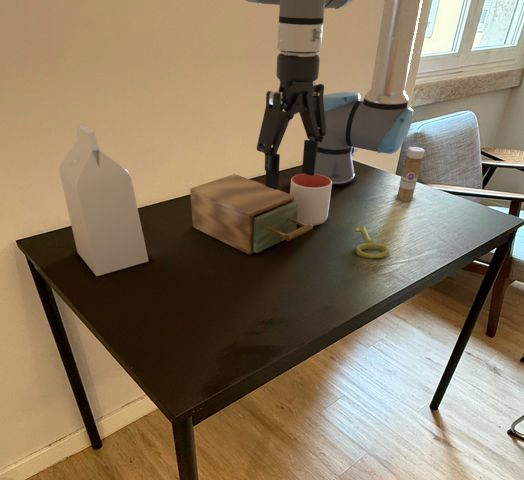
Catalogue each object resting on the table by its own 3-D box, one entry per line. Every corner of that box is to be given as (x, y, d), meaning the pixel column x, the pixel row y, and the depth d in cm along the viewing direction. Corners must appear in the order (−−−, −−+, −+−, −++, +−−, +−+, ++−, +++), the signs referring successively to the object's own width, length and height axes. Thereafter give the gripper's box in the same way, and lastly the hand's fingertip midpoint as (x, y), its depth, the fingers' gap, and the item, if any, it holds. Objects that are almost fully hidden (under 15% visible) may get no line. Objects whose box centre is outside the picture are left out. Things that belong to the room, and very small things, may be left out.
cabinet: (291, 234, 109) (294, 195, 103) (249, 255, 101) (250, 214, 95) (235, 210, 119) (234, 173, 113) (192, 227, 111) (189, 188, 105)
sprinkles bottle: (399, 201, 127) (410, 151, 118) (394, 195, 130) (405, 146, 122) (415, 201, 127) (427, 151, 118) (409, 195, 131) (421, 146, 122)
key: (362, 233, 111) (363, 225, 109) (391, 256, 102) (393, 247, 101) (336, 237, 108) (338, 229, 107) (364, 261, 100) (366, 253, 98)
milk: (148, 261, 97) (128, 132, 81) (96, 276, 92) (63, 141, 75) (126, 239, 105) (104, 117, 88) (77, 252, 100) (43, 125, 83)
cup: (282, 223, 114) (285, 183, 107) (295, 208, 121) (298, 170, 114) (320, 230, 111) (325, 190, 105) (331, 215, 118) (336, 177, 112)
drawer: (318, 243, 104) (321, 211, 99) (279, 263, 96) (281, 229, 91) (241, 211, 117) (241, 180, 112) (202, 226, 109) (199, 195, 104)
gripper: (269, 62, 70) (265, 201, 84) (354, 50, 83) (338, 172, 97) (235, 56, 73) (237, 189, 88) (322, 45, 87) (311, 163, 101)
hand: (290, 180), depth 92 cm, fingers open, 11 cm apart
